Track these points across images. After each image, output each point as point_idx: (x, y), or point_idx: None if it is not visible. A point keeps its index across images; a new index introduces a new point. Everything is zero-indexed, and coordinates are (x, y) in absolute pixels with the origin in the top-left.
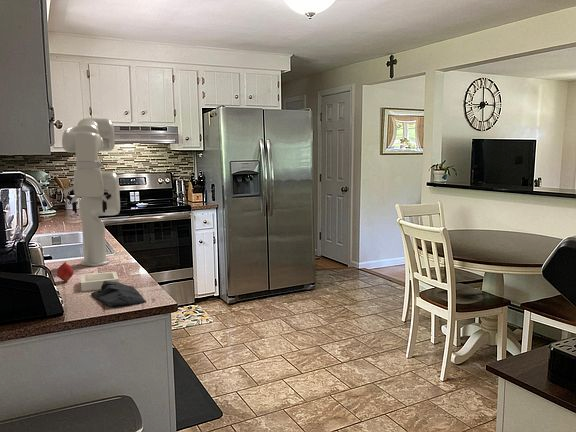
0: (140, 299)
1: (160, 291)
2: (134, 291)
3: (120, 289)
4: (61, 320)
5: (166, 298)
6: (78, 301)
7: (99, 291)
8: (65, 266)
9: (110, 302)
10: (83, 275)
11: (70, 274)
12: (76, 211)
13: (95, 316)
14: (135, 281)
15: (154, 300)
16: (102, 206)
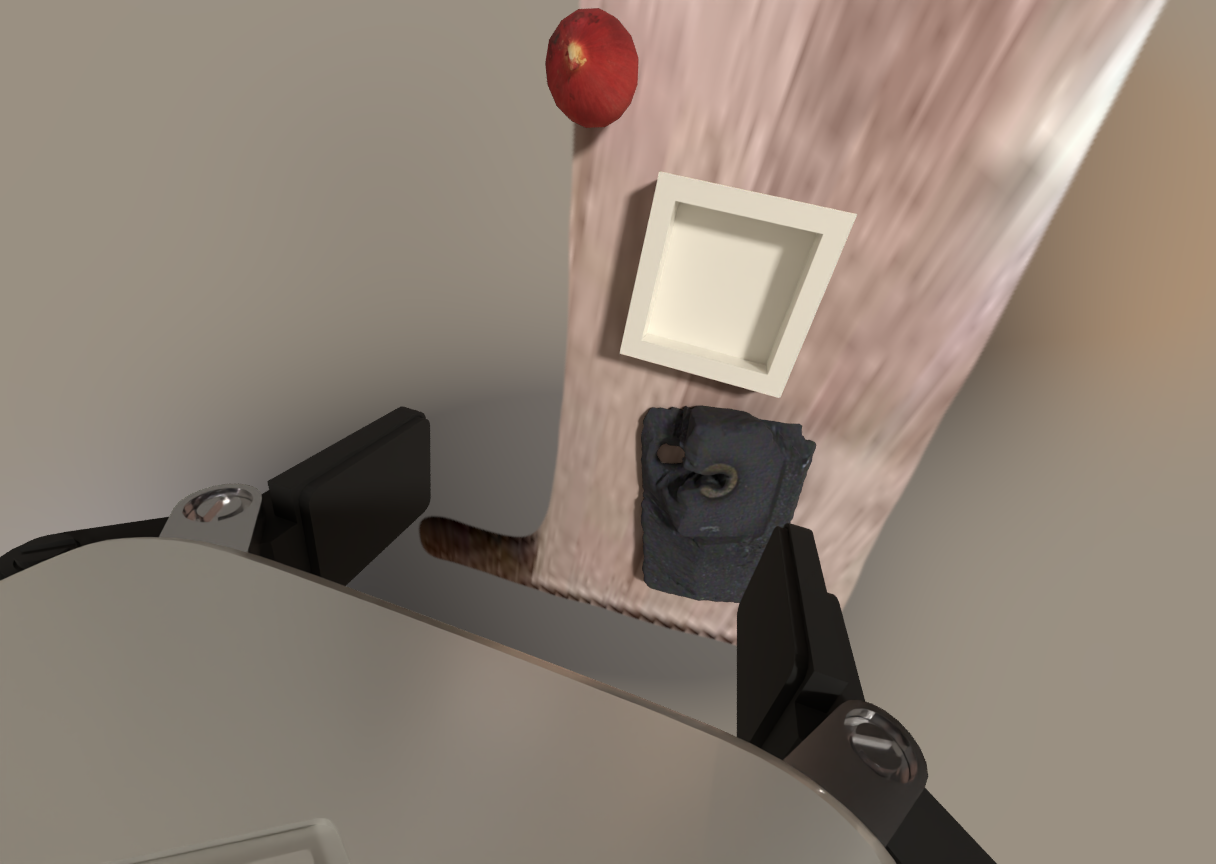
0: None
1: (873, 541)
2: (767, 533)
3: (714, 535)
4: (526, 570)
5: None
6: (590, 458)
7: (669, 438)
8: (577, 94)
9: (649, 586)
10: (666, 202)
11: (614, 120)
12: (411, 519)
13: (600, 599)
14: (897, 332)
15: None
16: (773, 603)
